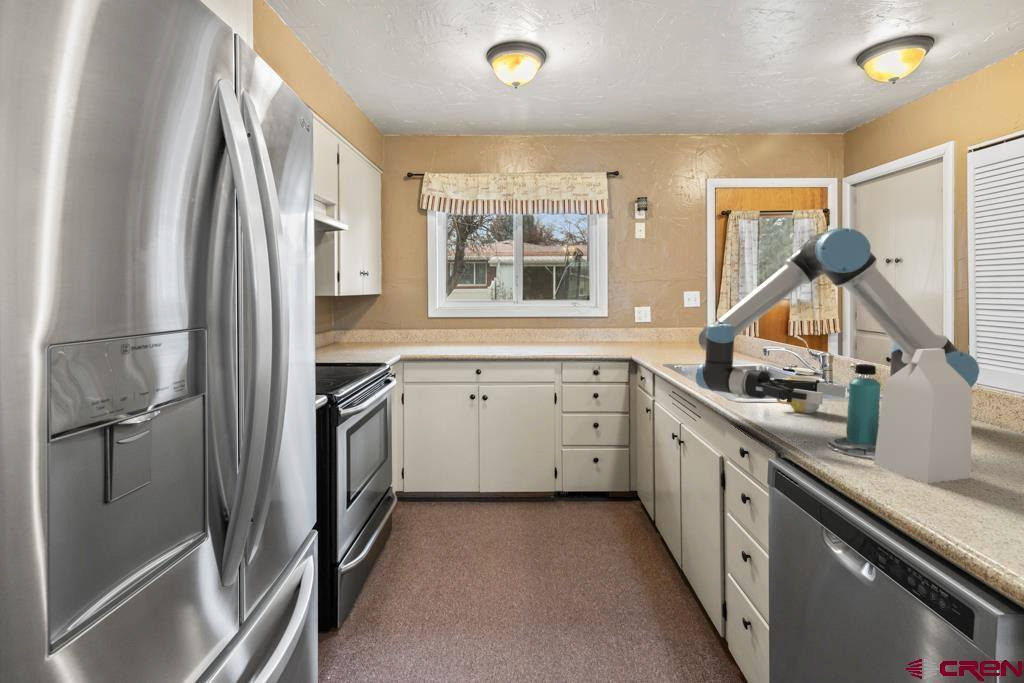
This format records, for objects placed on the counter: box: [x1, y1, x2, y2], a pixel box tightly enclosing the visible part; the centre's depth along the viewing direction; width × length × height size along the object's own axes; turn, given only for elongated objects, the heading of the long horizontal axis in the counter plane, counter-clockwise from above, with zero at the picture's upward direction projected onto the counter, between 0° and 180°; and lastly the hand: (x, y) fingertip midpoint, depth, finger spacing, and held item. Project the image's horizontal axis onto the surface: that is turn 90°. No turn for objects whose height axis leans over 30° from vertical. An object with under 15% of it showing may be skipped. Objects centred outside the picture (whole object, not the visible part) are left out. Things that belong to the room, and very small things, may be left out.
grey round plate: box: [826, 436, 876, 459], centre depth 129 cm, size 14×14×1 cm
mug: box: [775, 375, 826, 414], centre depth 170 cm, size 14×10×10 cm
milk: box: [873, 348, 973, 484], centre depth 113 cm, size 12×12×26 cm
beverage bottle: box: [845, 363, 881, 445], centre depth 128 cm, size 6×7×20 cm
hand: (834, 395), depth 133 cm, fingers open, 13 cm apart
